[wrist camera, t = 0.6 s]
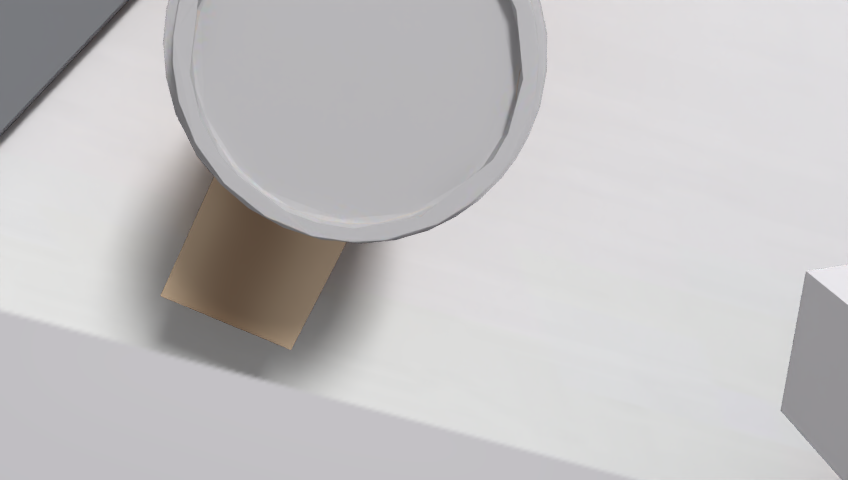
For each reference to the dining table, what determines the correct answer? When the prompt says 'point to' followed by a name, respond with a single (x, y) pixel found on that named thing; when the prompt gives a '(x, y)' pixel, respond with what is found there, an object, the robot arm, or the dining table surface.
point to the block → (250, 269)
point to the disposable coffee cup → (356, 105)
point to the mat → (43, 45)
